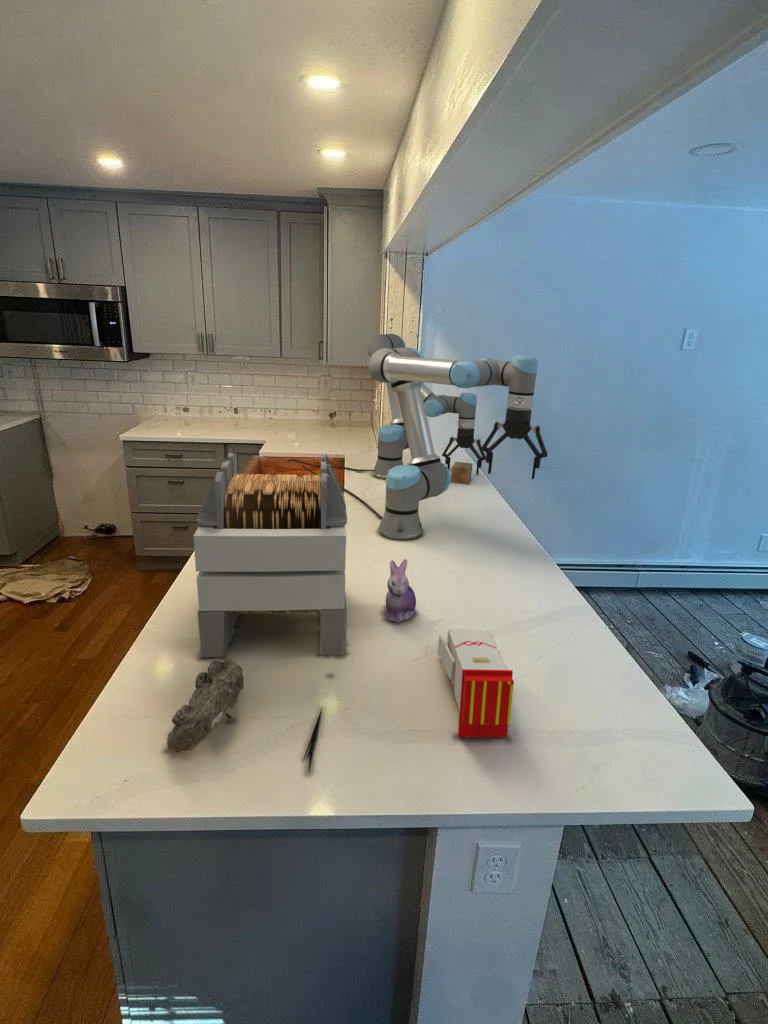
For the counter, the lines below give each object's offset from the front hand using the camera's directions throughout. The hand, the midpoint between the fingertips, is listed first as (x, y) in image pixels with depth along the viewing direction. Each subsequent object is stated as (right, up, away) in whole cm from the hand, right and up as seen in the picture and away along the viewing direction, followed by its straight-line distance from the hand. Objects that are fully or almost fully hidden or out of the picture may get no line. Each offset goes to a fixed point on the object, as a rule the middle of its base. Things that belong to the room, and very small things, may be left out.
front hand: (510, 475), depth 180 cm
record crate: (-67, -39, -37) cm, 86 cm away
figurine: (-36, -38, -32) cm, 62 cm away
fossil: (-73, -51, -72) cm, 114 cm away
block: (-4, +3, +86) cm, 86 cm away
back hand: (-4, +7, +85) cm, 85 cm away
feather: (-53, -51, -71) cm, 102 cm away
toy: (-22, -49, -61) cm, 82 cm away
